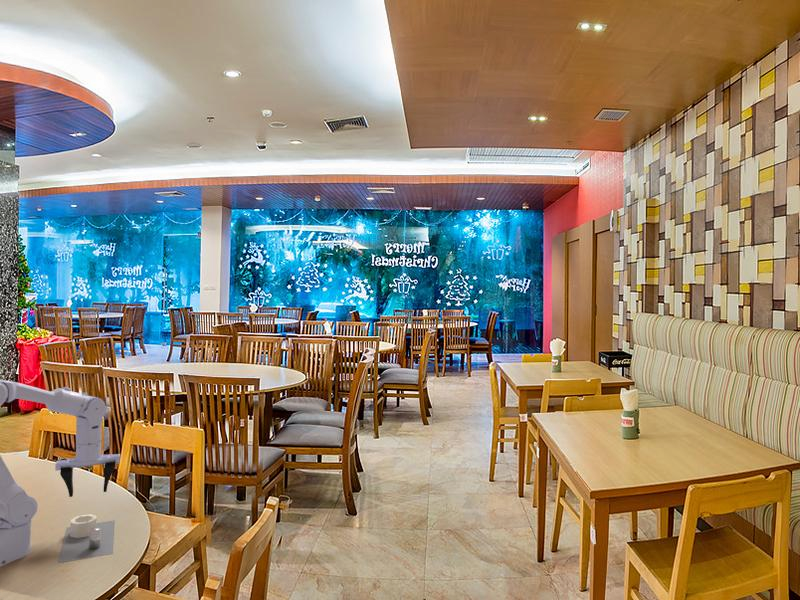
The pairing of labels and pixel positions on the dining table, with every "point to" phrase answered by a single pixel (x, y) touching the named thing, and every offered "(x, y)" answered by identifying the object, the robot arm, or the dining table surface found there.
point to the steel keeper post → (94, 538)
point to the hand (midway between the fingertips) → (88, 493)
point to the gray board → (87, 544)
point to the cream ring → (82, 525)
